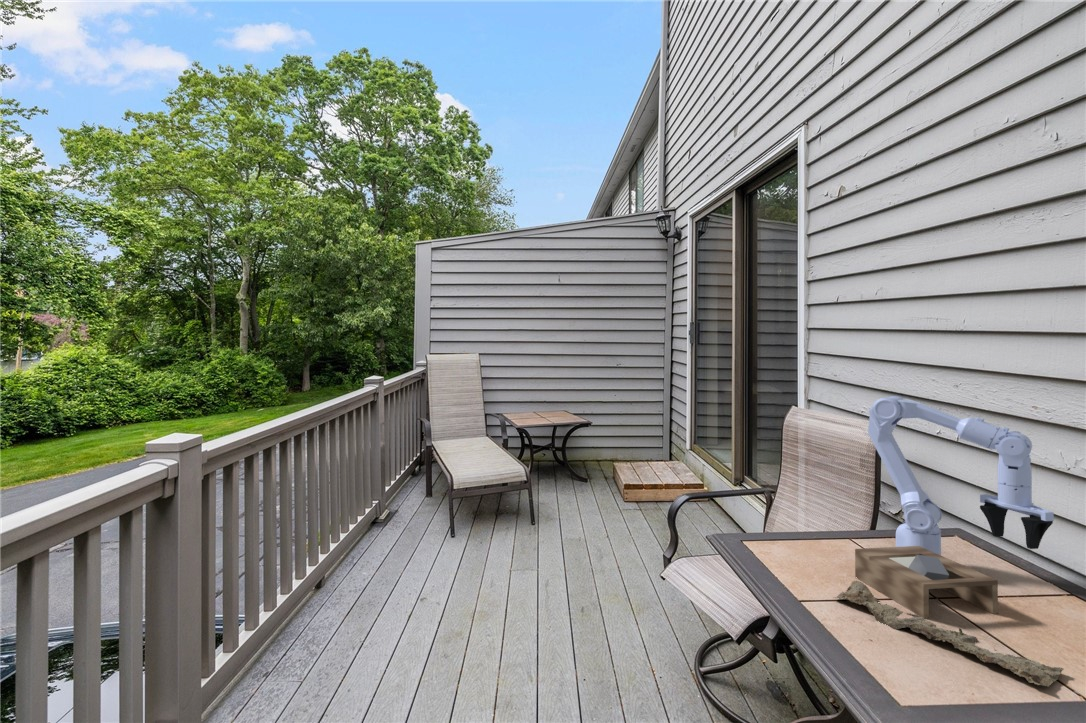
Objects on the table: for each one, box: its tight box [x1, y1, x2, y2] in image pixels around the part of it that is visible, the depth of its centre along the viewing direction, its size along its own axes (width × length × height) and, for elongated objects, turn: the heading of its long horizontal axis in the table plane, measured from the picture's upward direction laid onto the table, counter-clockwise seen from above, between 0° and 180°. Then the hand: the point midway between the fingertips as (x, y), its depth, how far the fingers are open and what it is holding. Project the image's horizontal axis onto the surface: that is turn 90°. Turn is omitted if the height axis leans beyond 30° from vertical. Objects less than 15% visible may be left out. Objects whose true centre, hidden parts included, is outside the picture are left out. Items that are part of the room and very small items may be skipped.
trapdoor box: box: [854, 546, 999, 619], centre depth 110 cm, size 19×17×7 cm
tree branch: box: [833, 580, 1065, 688], centre depth 94 cm, size 34×10×3 cm, turn 30°
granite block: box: [909, 555, 949, 580], centre depth 108 cm, size 4×4×4 cm
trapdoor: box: [889, 557, 915, 568], centre depth 111 cm, size 7×9×1 cm
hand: (1014, 542), depth 113 cm, fingers open, 7 cm apart
